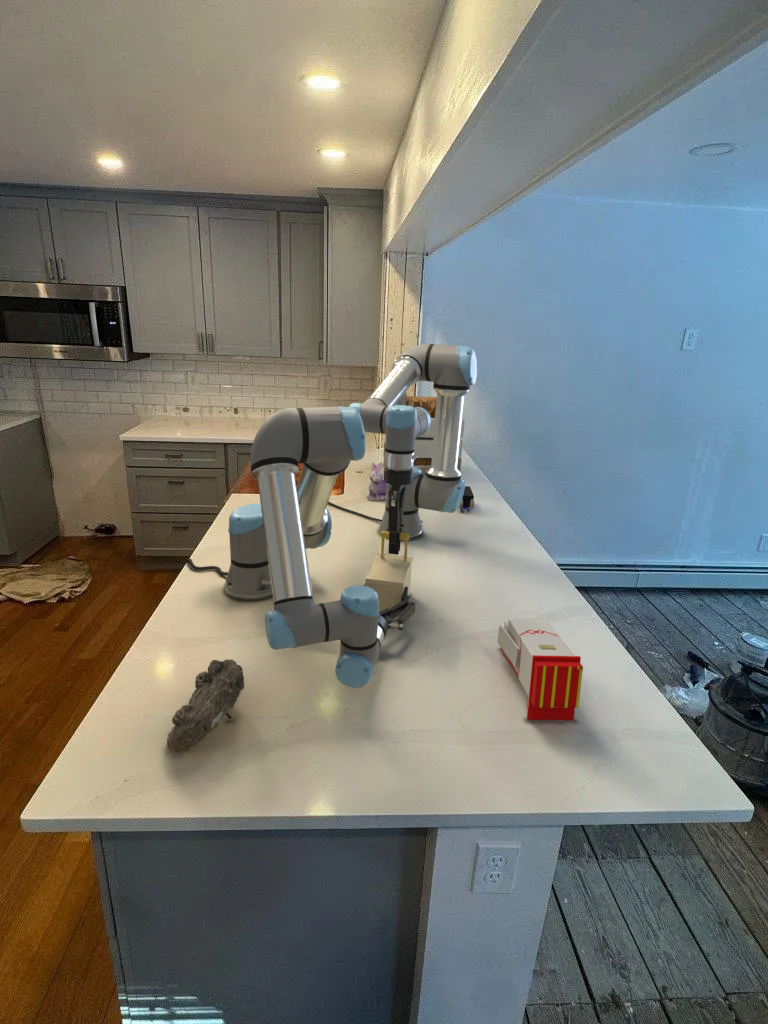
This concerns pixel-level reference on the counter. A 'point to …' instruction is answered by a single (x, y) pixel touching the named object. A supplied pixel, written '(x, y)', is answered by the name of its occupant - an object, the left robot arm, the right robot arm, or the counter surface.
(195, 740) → the fossil
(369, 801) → the counter surface
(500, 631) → the toy
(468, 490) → the figurine character
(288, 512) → the left robot arm
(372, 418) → the right robot arm
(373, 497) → the figurine
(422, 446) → the transformer
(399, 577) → the lid
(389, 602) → the chest
